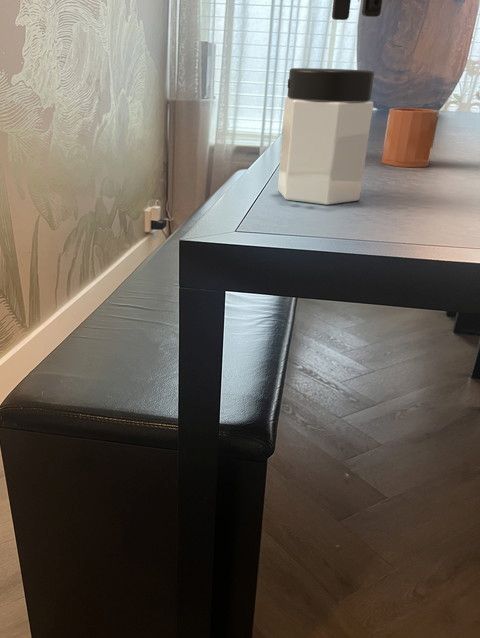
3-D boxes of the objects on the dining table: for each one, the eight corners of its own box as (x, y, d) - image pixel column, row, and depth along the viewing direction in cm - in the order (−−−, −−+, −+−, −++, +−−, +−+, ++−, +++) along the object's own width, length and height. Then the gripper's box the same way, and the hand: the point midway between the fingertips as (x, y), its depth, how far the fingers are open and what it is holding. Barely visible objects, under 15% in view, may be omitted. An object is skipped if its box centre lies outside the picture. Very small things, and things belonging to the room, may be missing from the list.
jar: (321, 185, 69) (335, 68, 64) (375, 199, 64) (395, 71, 58) (260, 192, 65) (268, 67, 59) (311, 208, 59) (327, 70, 53)
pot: (412, 159, 89) (421, 107, 86) (437, 167, 84) (448, 112, 80) (373, 160, 88) (381, 107, 84) (396, 167, 82) (406, 111, 79)
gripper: (436, -155, 66) (409, 16, 74) (372, -123, 79) (355, 21, 86) (374, -162, 65) (354, 14, 72) (318, -128, 77) (306, 19, 84)
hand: (354, 18), depth 79 cm, fingers open, 8 cm apart
